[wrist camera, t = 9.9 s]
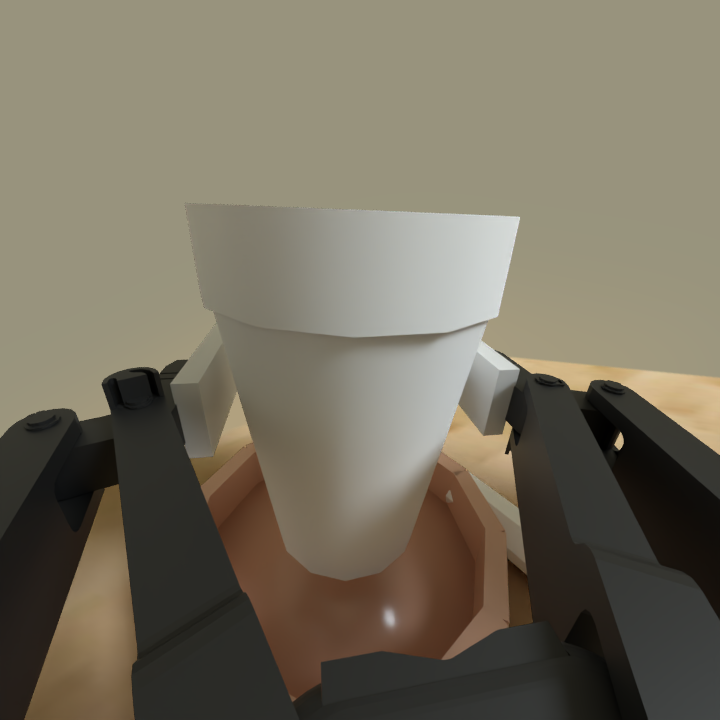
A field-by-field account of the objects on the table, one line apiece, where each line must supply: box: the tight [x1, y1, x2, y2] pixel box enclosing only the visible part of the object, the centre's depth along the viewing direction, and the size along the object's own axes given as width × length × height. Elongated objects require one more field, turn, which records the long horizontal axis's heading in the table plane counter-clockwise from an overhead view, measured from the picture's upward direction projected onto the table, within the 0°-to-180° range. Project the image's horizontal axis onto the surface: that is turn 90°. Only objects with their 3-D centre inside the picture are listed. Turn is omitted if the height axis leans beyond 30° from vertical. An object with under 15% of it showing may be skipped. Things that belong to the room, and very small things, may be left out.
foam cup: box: [185, 203, 520, 581], centre depth 13 cm, size 10×9×13 cm
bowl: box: [201, 443, 510, 702], centre depth 16 cm, size 15×15×3 cm
